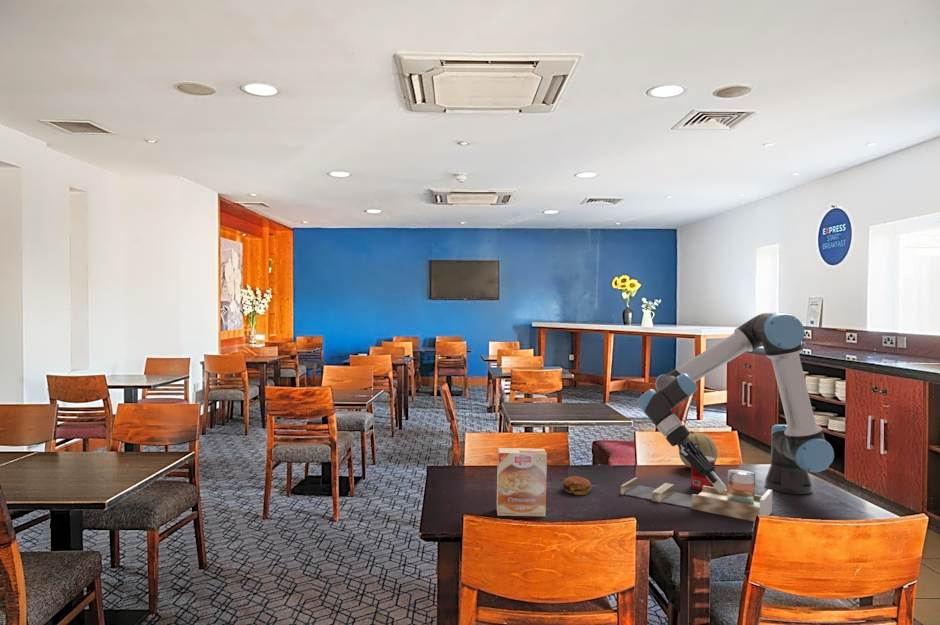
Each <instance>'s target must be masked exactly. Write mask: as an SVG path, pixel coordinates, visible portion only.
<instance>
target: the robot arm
mask: <svg viewBox="0 0 940 625" xmlns="http://www.w3.org/2000/svg"><path fill="white" fill-rule="evenodd" d="M804 338H805V328H804V325H803V323H802V321H800V319H799V318H798V317H796V316H795V315H793V314H789V313H785V312H764V313H760V314H758V315H756V316H754V317H753V318H750V319H749V320H748V321H746V322H744V323H743V324H742V325H740V326H738V327H736V328H735V329H734V331H733V333H732V334H730V335H728V336H727V337H726V338H724V339H723V340H720V341H719V342H718V343H715V344H714V345H712V346H711V347H709V348H708V349H706V350H703V352H701V353H699V354H698V355H696V356H694V357H692V358H691V359H689V360H688V361H686V362H685V363H683V364H681V365H679V366H678V367H676V368H675V369H673V370H671V371H670V372H668V373H664V374H659V376H657V377H656V380H655V383H654V386H655V388H656V390H657V391H656V390H655V389H654V388H653V389H652V388H650V389H648V390H647V391H645V392H644V393H642V394H641V395H640V396H639V397H638V399H637V405H638V406H639V408H640V409H641V410H642V411H643V413H644V414H645V415H646V417H647V419H649V420H650V421H651V422H652V424H653V425H654V426H655V427H656V429H658V430H657V432H658V433H661V434H662V436H663V437H665V440H667V442H668V444H670V446H672V447H675V446H677V447H678V449H679V448H680V450H681V452H680V454H681V455H682V456H683V457H684V458H685V459H686V460H687V461H688V462H689V463H690V464H691V465H692V466H693V467H694V468H695V469H696V470H697V471H698V472H699V473H700V474H701V475H703V476H702V477H705V476H706V477H707V478H708V480H709V481H710V482H711V483H712V484H713V486H714V487H715V488H716V489H717V491H718V492H719V493H721V492H722V491H723V490H725V489H726V490H727V485H726V484H725V483H724V482H723V481H722V479H721V478H720V477H719V476H718V475H717V473H716V472H714V471H713V470H714V469H715V468H716V467H715V468H713V466H712V465H711V463H710V462H709V461H708V459H707V458H706V456H705V455H704V454H703V452H702V451H701V449H700V448H699V446H698V444H697V443H695V444H694V443H693V442H692V441H691V440H690V439H689V438H688V436H689V435H690V434H691V433H690V431H689V429H688V428H687V427H686V426H685V425H684V424H682V423H683V422H682V421H681V420H680V418H679V417H678V416H677V415H676V414H675V413H674V412H673V411H672V410H673V409H674V408H676V407H677V406H678V405H680V404H681V403H683V402H684V401H685V400H687V399H688V398H690V397H691V396H692V395H694V393H695V392H698V391H697V390H698V386H697V385H696V382H697V381H699V380H701V379H702V378H704V377H706V376H708V375H709V374H711V373H712V372H714V371H716V370H718V369H719V368H721V367H722V366H724V365H726V364H727V363H729V362H730V361H733V360H734V359H735V358H737V357H740V355H742V354H744V353H746V352H750V353H751V352H753V351H754V350H757V349H758V348H763V350H764V355H765V357H767V358H768V359H770V360H771V363H772V367H773V371H774V375H775V380H776V383H777V389H778V392H779V397H780V400H781V404H782V408H783V412H784V417H785V421H786V424H774V425H772V427H771V432H770V441H771V442H770V466H769V468H768V472H767V473H766V476H765V480H764V486H765V487H766V488H767V489H770V490H772V491H774V492H778V493H782V494H791V495H807V494H811V493H812V492H813V483H812V480H811V478H810V475H809V473H810V472H811V473H820V472H823V471H825V470H827V469H828V468H829V467H830V465H831V464H832V463H833V462H834V459H835V452H834V448H833V446H832V444H830V443H829V441H827V440H826V439H825V435H824V431H823V427H821V426H820V425H819V424H818V423H816V420H815V415H814V411H813V407H812V404H811V399H810V394H809V390H808V387H807V386H808V385H807V382H806V377H805V373H804V369H803V366H802V361H801V357H800V354H801V352H802V351H803V350H804V349H803V343H802V341H803V340H804ZM715 470H716V469H715Z"/></svg>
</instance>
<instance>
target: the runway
mask: <svg viewBox="0 0 940 625" xmlns="http://www.w3.org/2000/svg"><path fill="white" fill-rule="evenodd" d="M638 483H639V480H638V477H634V478H632V479H630V480H628V481H626V482H625V483H623V484H622V485H620V495H622V496H627V497H632V498H636V499H640V500H641V499H642V500H647V501H650V502H651V501H652V502H656V503H661V504H664V505H665V504H667V505H671V506H675V507H681V508H685V509H691V510H696V511H699V512H700V511H701V512H705V513H711V514H716V515H721V516H725V517H731V518H736V519H740V520H745V521H751V522H755V519H756V516H757V515H759V511H760V506H754V505H749V504H744V503H738V502H733V501H728V500H727V488H726V489H725V490H723V491H722V492H721V493H719V492H718V491H717V489H716V488H715V487H709V486H703V491H701V492H699V493H698V494H694V493H692V494H686V493H681V492H675V484H673V483H668V482H664V483H663V484H662V485H660V486H658V487H656V488H655V487H650V486H645V485H640V484H638ZM762 496H763V495H759V494H755V495H754V500H756V501H760V499H761V497H762Z"/></svg>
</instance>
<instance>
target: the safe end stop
mask: <svg viewBox="0 0 940 625" xmlns="http://www.w3.org/2000/svg"><path fill="white" fill-rule="evenodd" d="M761 496H762V497H761V499H760V501H756V500H754V504H751V505H754V506H760V511H759V515H768V516H770V515H771V514H772V512H773V490H771V489H769V488H767V490H766V491H765V493H764V494H763V495H761Z"/></svg>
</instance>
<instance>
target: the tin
mask: <svg viewBox="0 0 940 625" xmlns="http://www.w3.org/2000/svg"><path fill="white" fill-rule="evenodd" d="M726 480H727V481H726V482H727V483H726V484H727V485H726V487H727V488H726V490H727V500H728V501H733V502H738V503H744V504H749V505H751V504H754V495H756V493H755V492H756V473H754V472H753V471H748V470H744V469H743V470H742V469H728V470H727V479H726Z"/></svg>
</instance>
